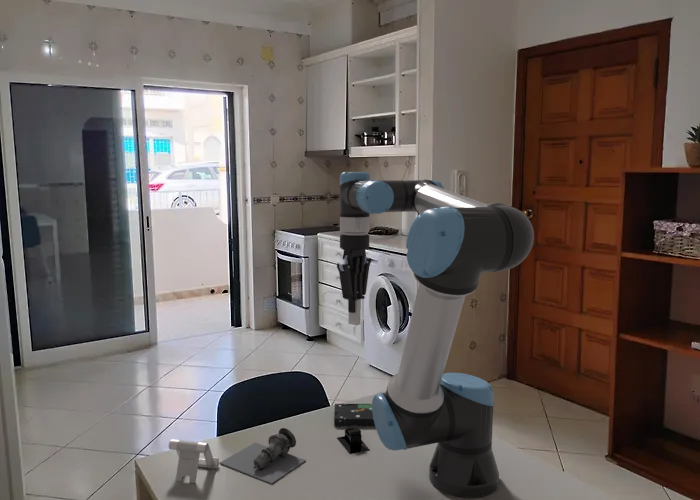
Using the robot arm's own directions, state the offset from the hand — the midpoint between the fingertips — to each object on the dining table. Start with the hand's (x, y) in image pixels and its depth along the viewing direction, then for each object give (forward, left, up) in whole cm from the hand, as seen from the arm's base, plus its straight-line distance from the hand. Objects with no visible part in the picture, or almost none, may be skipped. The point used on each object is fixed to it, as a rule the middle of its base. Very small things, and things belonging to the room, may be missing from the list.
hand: (354, 323), depth 148 cm
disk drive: (+2, -6, -29) cm, 30 cm away
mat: (+8, +27, -28) cm, 40 cm away
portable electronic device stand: (+18, +39, -29) cm, 52 cm away
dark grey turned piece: (+6, +20, -24) cm, 32 cm away
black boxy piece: (-5, +8, -29) cm, 31 cm away
